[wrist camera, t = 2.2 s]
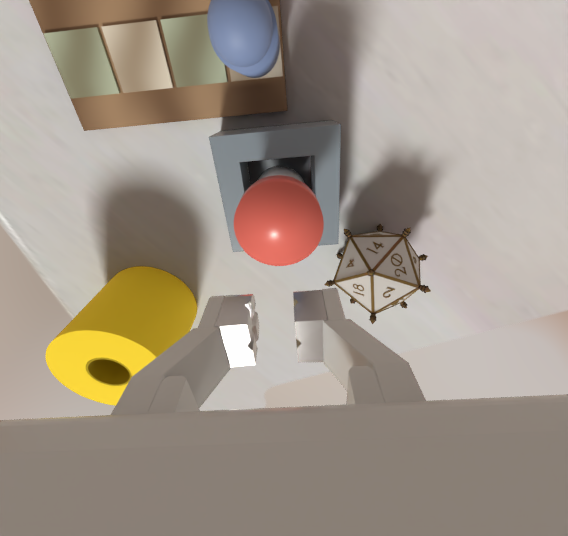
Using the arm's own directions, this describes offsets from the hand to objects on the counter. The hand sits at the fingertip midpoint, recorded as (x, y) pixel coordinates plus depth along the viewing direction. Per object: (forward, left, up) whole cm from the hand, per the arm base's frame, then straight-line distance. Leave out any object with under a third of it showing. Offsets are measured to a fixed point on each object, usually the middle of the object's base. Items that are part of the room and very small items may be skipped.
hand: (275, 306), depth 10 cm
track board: (+7, -9, -17) cm, 21 cm away
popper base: (0, 0, -17) cm, 17 cm away
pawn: (+1, -9, -16) cm, 19 cm away
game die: (-8, +8, -17) cm, 20 cm away
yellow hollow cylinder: (+16, +13, -17) cm, 27 cm away
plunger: (0, 0, -14) cm, 14 cm away
